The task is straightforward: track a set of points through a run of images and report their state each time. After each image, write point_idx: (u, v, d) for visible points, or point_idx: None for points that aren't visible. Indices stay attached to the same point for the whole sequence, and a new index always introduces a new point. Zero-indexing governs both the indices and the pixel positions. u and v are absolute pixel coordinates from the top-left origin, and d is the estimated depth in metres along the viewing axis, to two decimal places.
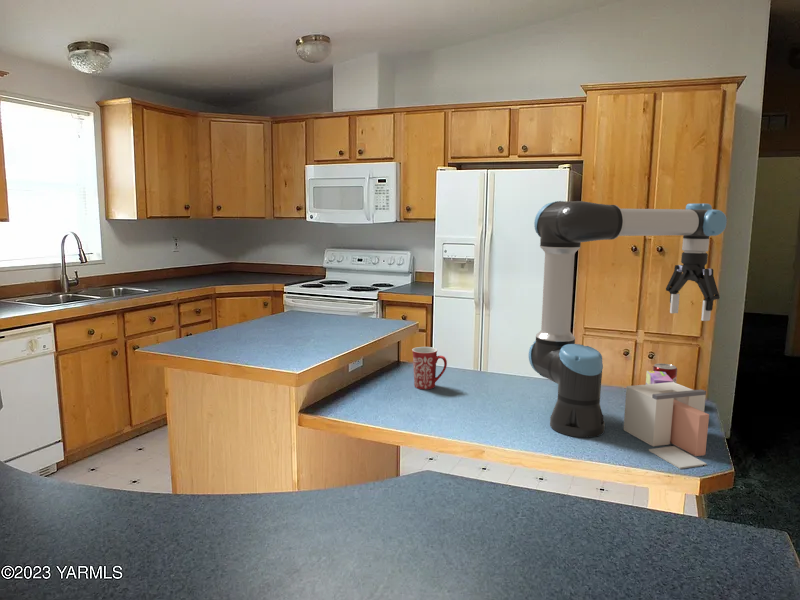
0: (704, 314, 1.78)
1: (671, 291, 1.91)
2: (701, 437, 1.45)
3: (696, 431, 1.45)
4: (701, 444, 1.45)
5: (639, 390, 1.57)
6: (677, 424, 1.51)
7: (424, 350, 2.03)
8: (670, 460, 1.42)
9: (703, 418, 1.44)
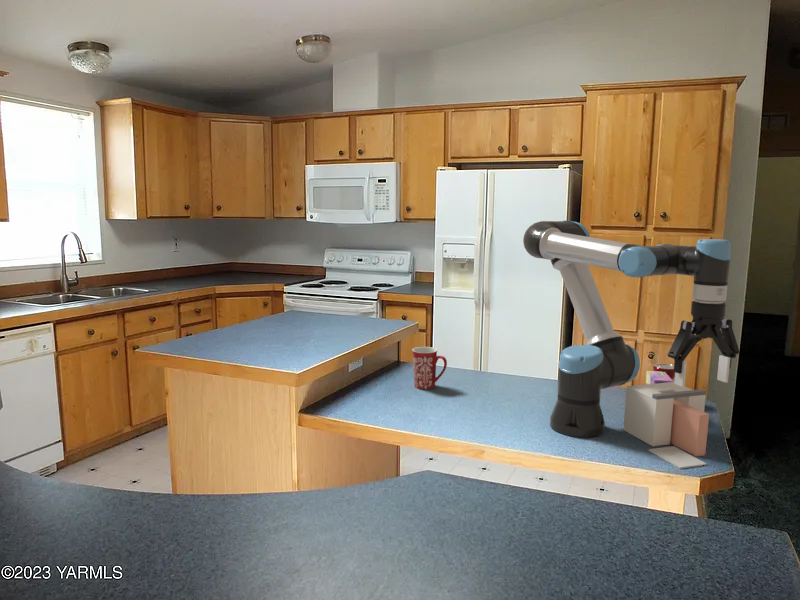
0: (675, 376, 1.44)
1: None
2: (701, 437, 1.45)
3: (696, 431, 1.45)
4: (701, 444, 1.45)
5: (639, 390, 1.57)
6: (677, 424, 1.51)
7: (424, 350, 2.03)
8: (670, 460, 1.42)
9: (703, 418, 1.44)
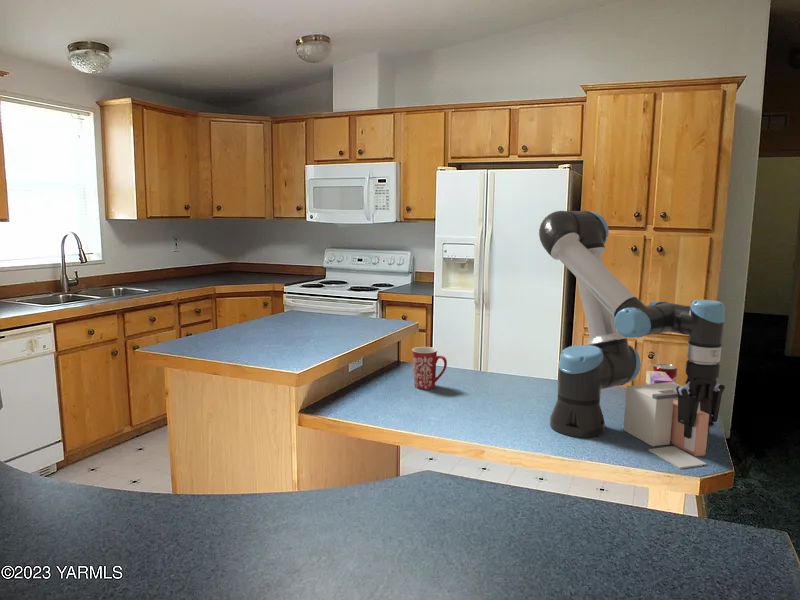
0: (685, 440, 1.48)
1: None
2: (701, 437, 1.45)
3: (696, 431, 1.45)
4: (701, 444, 1.45)
5: (639, 390, 1.57)
6: (677, 424, 1.51)
7: (424, 350, 2.03)
8: (670, 460, 1.42)
9: (703, 417, 1.44)
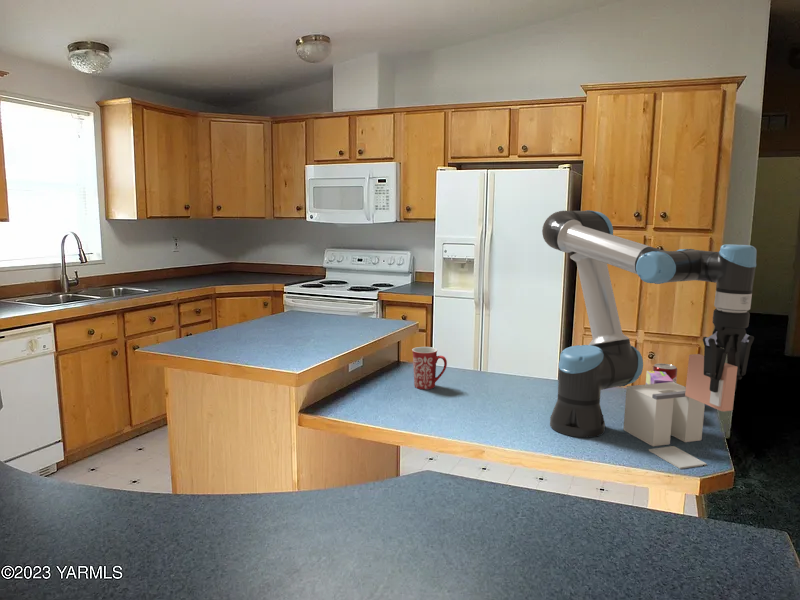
0: (711, 395, 1.39)
1: None
2: (729, 391, 1.36)
3: (724, 384, 1.36)
4: (728, 399, 1.37)
5: (639, 390, 1.57)
6: (702, 378, 1.42)
7: (424, 350, 2.03)
8: (670, 460, 1.42)
9: (731, 370, 1.35)
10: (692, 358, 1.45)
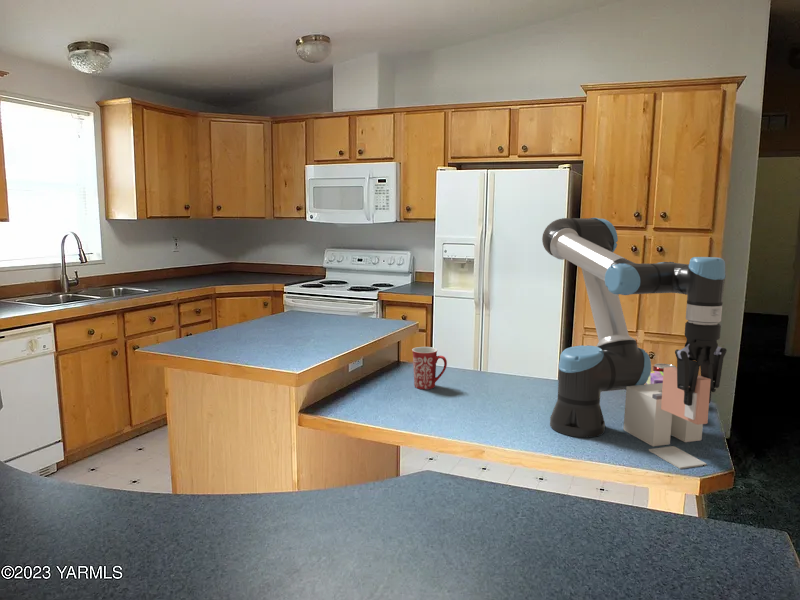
0: (685, 408, 1.38)
1: None
2: (703, 404, 1.36)
3: (697, 397, 1.35)
4: (703, 412, 1.36)
5: (639, 390, 1.57)
6: (677, 392, 1.42)
7: (424, 350, 2.03)
8: (670, 460, 1.42)
9: (704, 382, 1.35)
10: (666, 371, 1.45)
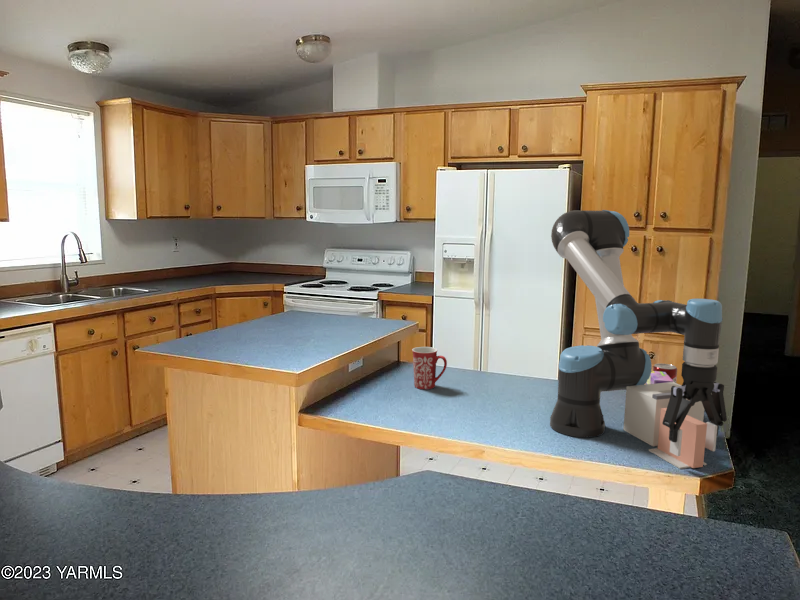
0: (670, 444, 1.39)
1: None
2: (699, 448, 1.37)
3: (694, 441, 1.37)
4: (699, 455, 1.38)
5: (639, 390, 1.57)
6: None
7: (424, 350, 2.03)
8: (670, 460, 1.42)
9: (701, 427, 1.36)
10: (664, 412, 1.46)
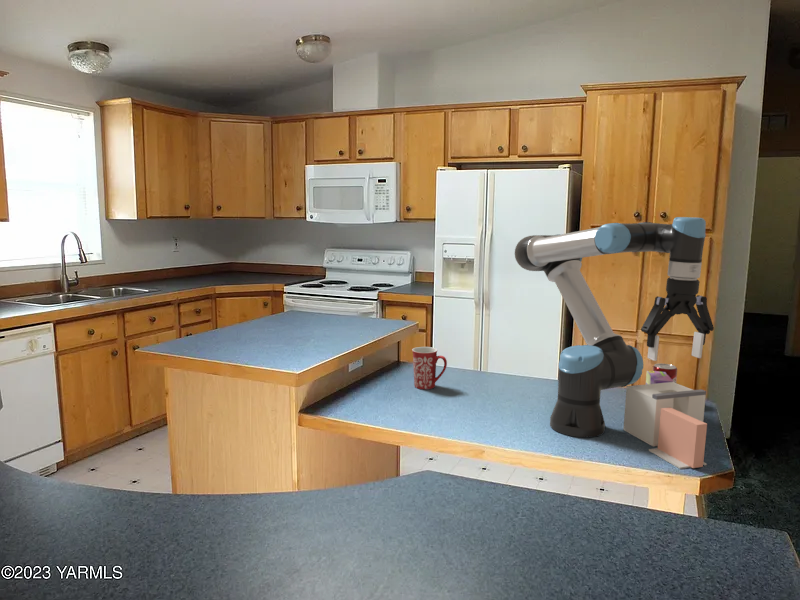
0: (648, 351, 1.48)
1: None
2: (699, 448, 1.37)
3: (694, 441, 1.37)
4: (699, 455, 1.38)
5: (639, 390, 1.57)
6: (673, 433, 1.43)
7: (424, 350, 2.03)
8: (670, 460, 1.42)
9: (701, 427, 1.36)
10: (664, 412, 1.46)
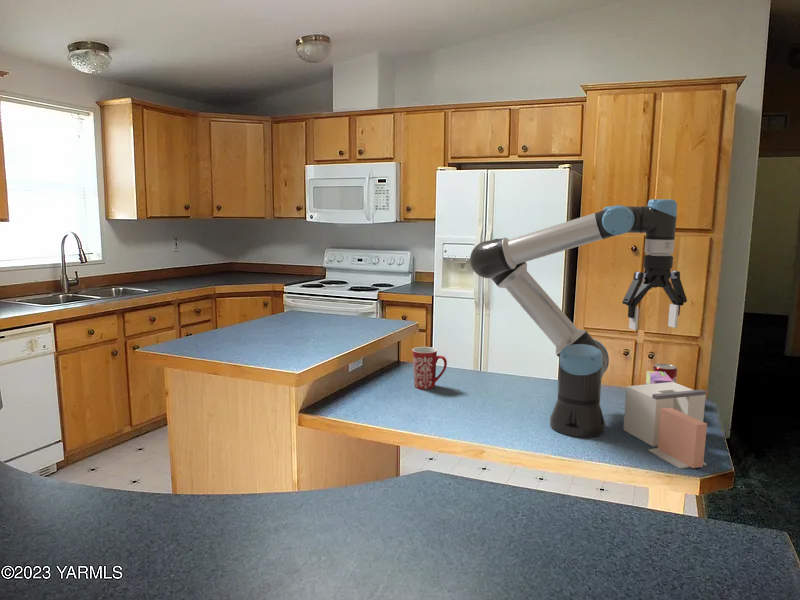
0: (629, 321, 1.62)
1: None
2: (699, 448, 1.37)
3: (694, 441, 1.37)
4: (699, 455, 1.38)
5: (639, 390, 1.57)
6: (673, 433, 1.43)
7: (424, 350, 2.03)
8: (670, 460, 1.42)
9: (701, 427, 1.36)
10: (664, 412, 1.46)
